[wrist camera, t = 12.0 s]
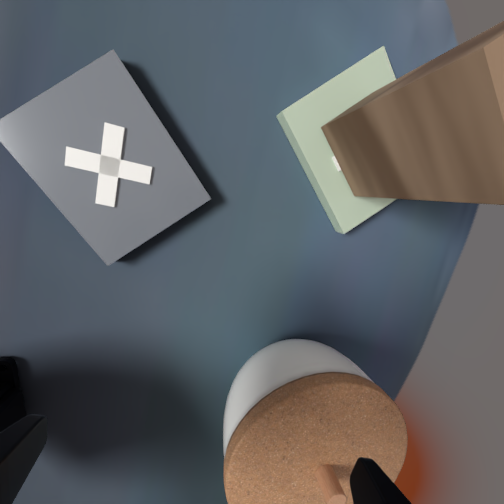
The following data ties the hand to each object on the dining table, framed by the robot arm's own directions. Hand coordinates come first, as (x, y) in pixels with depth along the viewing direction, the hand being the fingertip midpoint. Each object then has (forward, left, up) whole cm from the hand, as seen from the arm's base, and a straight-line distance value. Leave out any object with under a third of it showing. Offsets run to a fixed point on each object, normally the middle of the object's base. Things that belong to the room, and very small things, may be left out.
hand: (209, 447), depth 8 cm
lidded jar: (+6, -7, -12) cm, 16 cm away
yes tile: (+10, +10, -12) cm, 19 cm away
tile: (-5, +8, -12) cm, 15 cm away
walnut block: (+10, +10, -11) cm, 18 cm away
